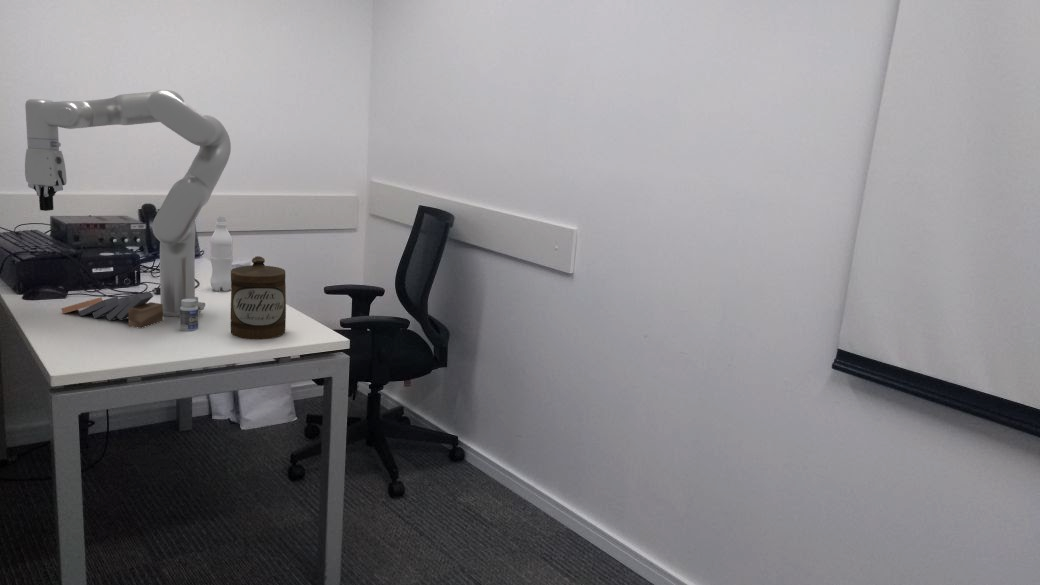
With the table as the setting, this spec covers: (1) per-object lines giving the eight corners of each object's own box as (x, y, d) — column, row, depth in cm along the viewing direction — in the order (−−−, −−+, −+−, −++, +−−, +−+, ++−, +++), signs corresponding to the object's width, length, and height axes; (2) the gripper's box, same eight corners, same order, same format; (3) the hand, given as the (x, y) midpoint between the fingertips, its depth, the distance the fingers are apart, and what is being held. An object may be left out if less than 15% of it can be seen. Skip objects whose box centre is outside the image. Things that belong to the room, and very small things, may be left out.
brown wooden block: (162, 320, 224) (162, 304, 223) (141, 328, 215) (140, 310, 214) (150, 318, 225) (150, 302, 224) (128, 326, 216) (128, 308, 215)
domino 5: (132, 316, 224) (153, 296, 221) (120, 320, 219) (141, 299, 216) (129, 311, 224) (150, 291, 221) (116, 315, 219) (137, 295, 216)
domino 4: (122, 317, 225) (143, 297, 222) (109, 320, 220) (131, 301, 217) (118, 312, 225) (140, 293, 222) (106, 316, 220) (127, 296, 217)
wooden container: (232, 341, 211) (231, 261, 206) (229, 326, 224) (229, 251, 219) (288, 339, 217) (289, 261, 212) (282, 324, 230) (283, 252, 225)
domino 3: (107, 314, 226) (132, 300, 223) (95, 318, 221) (119, 304, 218) (105, 309, 226) (129, 295, 223) (92, 313, 221) (116, 299, 218)
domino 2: (93, 312, 227) (119, 301, 224) (80, 316, 222) (106, 305, 219) (91, 307, 226) (117, 296, 224) (78, 311, 222) (104, 299, 219)
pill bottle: (191, 332, 216) (191, 302, 214) (176, 329, 217) (176, 300, 215) (201, 328, 220) (201, 299, 218) (186, 325, 221) (186, 297, 219)
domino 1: (76, 310, 228) (103, 302, 225) (62, 313, 223) (90, 306, 220) (74, 304, 228) (101, 297, 225) (61, 308, 223) (88, 300, 220)
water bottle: (224, 286, 270) (224, 215, 265) (237, 290, 266) (237, 218, 261) (206, 289, 265) (205, 216, 259) (218, 293, 261) (218, 219, 255)
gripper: (76, 147, 219) (79, 211, 223) (32, 142, 222) (35, 206, 226) (55, 147, 211) (58, 214, 215) (9, 142, 215) (13, 208, 219)
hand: (46, 210), depth 221 cm, fingers closed
